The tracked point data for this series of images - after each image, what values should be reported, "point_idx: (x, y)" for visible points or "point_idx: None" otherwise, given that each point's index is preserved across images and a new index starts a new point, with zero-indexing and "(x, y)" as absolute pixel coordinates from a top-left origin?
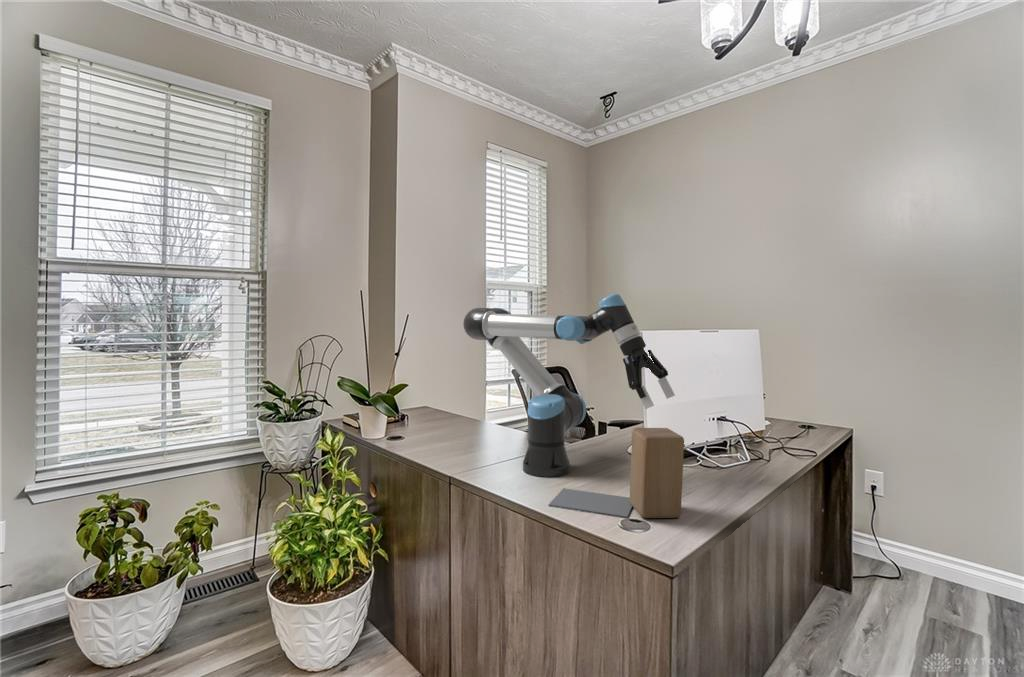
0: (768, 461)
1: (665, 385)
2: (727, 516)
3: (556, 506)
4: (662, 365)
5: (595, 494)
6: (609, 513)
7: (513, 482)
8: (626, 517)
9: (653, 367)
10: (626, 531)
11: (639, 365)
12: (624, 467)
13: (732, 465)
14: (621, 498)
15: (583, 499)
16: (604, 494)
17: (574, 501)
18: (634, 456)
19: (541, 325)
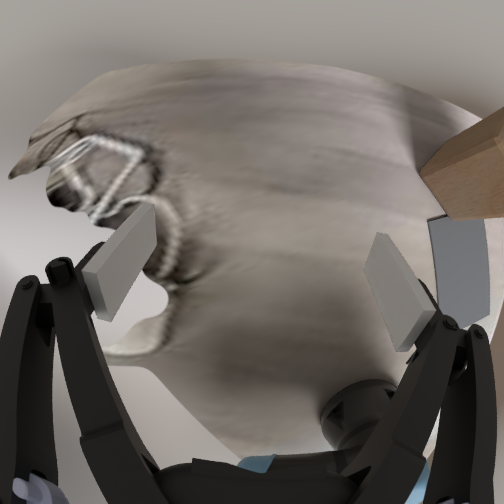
0: (82, 114)
1: (126, 258)
2: (396, 89)
3: (489, 303)
4: (4, 326)
5: (443, 284)
6: (484, 232)
7: None
8: None
9: (111, 391)
10: None
11: (420, 464)
12: (266, 316)
13: (126, 143)
14: (440, 241)
15: (464, 288)
16: (438, 273)
17: (474, 294)
18: None
19: None
